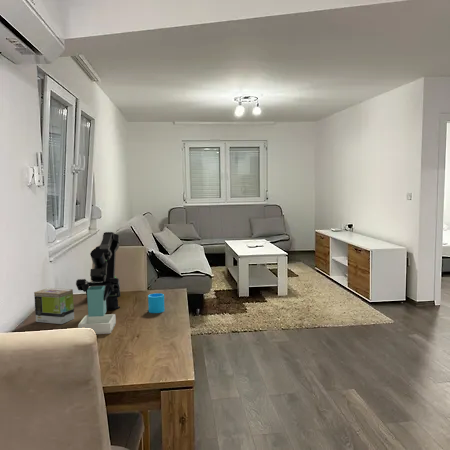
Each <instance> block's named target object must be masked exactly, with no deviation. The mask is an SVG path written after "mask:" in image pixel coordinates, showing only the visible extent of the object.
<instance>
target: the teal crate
mask: <svg viewBox="0 0 450 450" xmlns="http://www.w3.org/2000/svg"><path fill="white" fill-rule="evenodd" d="M104 293H105V286H89V288H88V289H87V295H86V300H87V315H88V317H95V316H104V315H106V313H107V309H106V300H105V301H104Z"/></svg>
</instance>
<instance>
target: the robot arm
mask: <svg viewBox="0 0 450 450" xmlns="http://www.w3.org/2000/svg"><path fill="white" fill-rule="evenodd" d="M120 243H121V237H120V235H119V234H116V233H115V232H113V231H104V232H103V234H102V240H101V243H100V245H98V246H95V249H92V250H91V251H90V253H89V254H90V257H91V261H92V265H94V268H90V281H88V280H87V279H86V278H77V280H76V282H75V286H76V288H77V290H78V291H82V292H84V293H85V294H86V296H87V289H88V288H89V287H90V286H105V293H104V301H105V300H106V311H113V310H117V309H119V308H121V306H119V299H118V298H120V297H121V290H120V289H121V282H120V278H118V277H117V278H115V276H116V255H117V254H116V253H117V251H118V249H119V248H120ZM106 260H107V261H106Z"/></svg>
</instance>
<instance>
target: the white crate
mask: <svg viewBox="0 0 450 450" xmlns="http://www.w3.org/2000/svg"><path fill="white" fill-rule="evenodd" d="M116 324H117V320H116V313H111V314H110V313H109V314H105V315H104V316H95V317H88V314H86V315H85V316H84V317H83V318H82V319H81V321H80V322H79V323H78V325H77V329H78V328H82V327H85V328H92V329H93V330H94V331H95V332H96V334H95V335H106V334H110V335H111V334H112V332H113V331H114V328H115V326H116Z"/></svg>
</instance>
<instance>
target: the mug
mask: <svg viewBox="0 0 450 450" xmlns="http://www.w3.org/2000/svg"><path fill="white" fill-rule="evenodd" d="M147 302H148V303H147V305H148V310H147V311H148V313H150V314H160V313H164V312H165V294H164V293H160V292H159V293H158V292H154V293H150V294H148V295H147Z"/></svg>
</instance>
